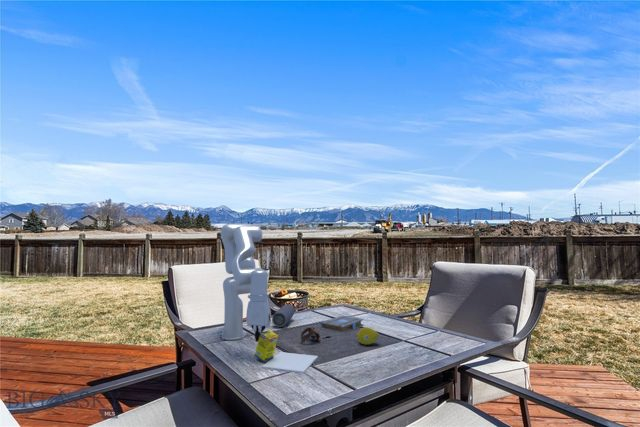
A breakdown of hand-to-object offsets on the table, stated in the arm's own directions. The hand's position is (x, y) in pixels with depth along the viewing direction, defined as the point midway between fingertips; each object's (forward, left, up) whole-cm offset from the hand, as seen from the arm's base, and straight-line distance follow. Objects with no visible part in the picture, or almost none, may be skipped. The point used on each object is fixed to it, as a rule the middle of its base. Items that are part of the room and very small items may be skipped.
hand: (258, 340), depth 151 cm
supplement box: (+2, 0, -7) cm, 7 cm away
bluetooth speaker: (-13, +57, -8) cm, 59 cm away
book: (+23, +60, -9) cm, 65 cm away
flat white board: (+15, 0, -8) cm, 17 cm away
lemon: (+42, +33, -8) cm, 54 cm away
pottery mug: (+14, +30, -8) cm, 34 cm away
